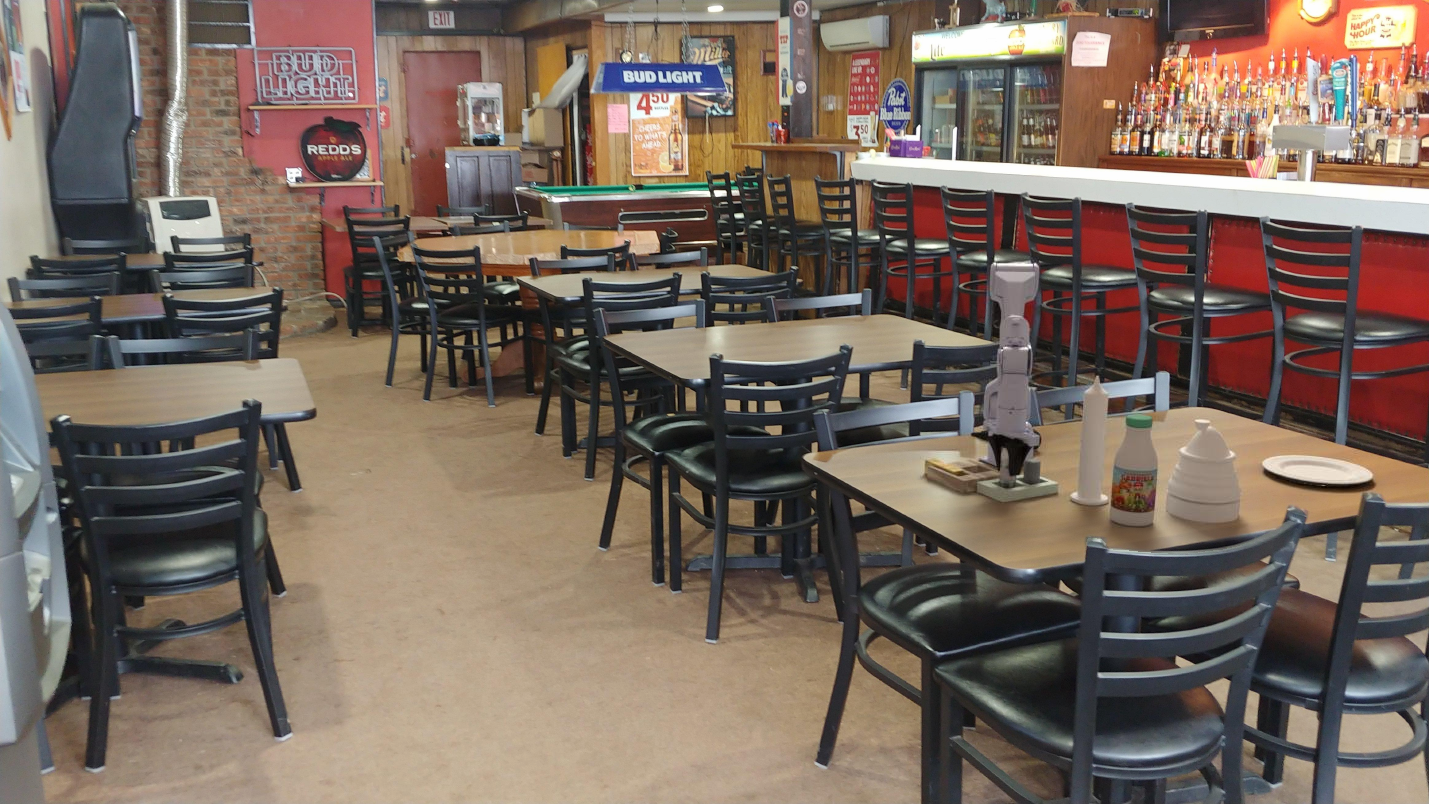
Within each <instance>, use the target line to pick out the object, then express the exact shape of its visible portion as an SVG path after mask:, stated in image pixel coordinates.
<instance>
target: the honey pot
mask: <svg viewBox="0 0 1429 804" xmlns="http://www.w3.org/2000/svg"><path fill="white" fill-rule="evenodd" d="M1194 424H1195V427H1196V429H1197V430H1198V431H1197V432H1195V434H1194V435H1193V436H1192V438H1191V439H1190V440H1189V441H1188V444H1187V446H1186V445H1185V446H1183V447H1180V448H1179V450H1178V454H1179V456H1180V459H1179V460H1178V462H1177V463H1176V465H1174V466H1175V467H1174V470H1173V472H1172V474H1171V477H1170V478H1169V480H1168V482H1167V491H1166V500H1165V509H1166V511H1167V512H1168V513H1169V514H1171V515H1172V516H1175V517H1177V518H1181V519H1184V520H1189V521H1193V522H1200V523H1212V524H1213V523H1214V524H1215V523H1217V524H1219V523H1230V522H1233V521H1235V520H1238V518H1239V517H1240V506H1241V496H1242V495H1241V493H1242V488H1241V486H1240V484H1239V478H1238V476H1237V474H1238V472H1237V470H1236V468H1235V464H1234V461H1235V460H1237V459H1236V458H1237V455H1236V453H1235V452H1233V451H1232V450H1230V449H1229V446H1228V444H1227V442H1226V440H1225V439H1224V437H1223V435H1222V434H1221V432H1220V431H1219V430H1218V429H1216V428H1215V427H1214V426H1211V425H1210V424H1211V421H1210V420H1206V419H1195V420H1194Z"/></svg>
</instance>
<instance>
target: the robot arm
mask: <svg viewBox="0 0 1429 804" xmlns="http://www.w3.org/2000/svg"><path fill="white" fill-rule="evenodd" d="M1039 279H1040V266H1039V265H1038V264H1037V262H1033V263H1008V262H1007V263H1006V262H1005V263H1003V262H992V264H991V265H990V274H989V296H990V299H991V300H992V301H995V302H997V303H998V305H999V308H1000V312H1001V317H1000V318H1001V319H1000V324H999V348H997V356H996V357H997V358H996V372H997V377H996V378H995V379H993V380H991V381H990V382H988V383H987V384H986V386H985V389H984V390H985V391H984V396H983V419H984V420H983V424H982V425H983V427H982V431H989V436H988V439H987V440H986V441H987V455H984V456H980V457H978V460H980V461H983V462H985V463H987V464H990V465H993V466H995V467H996V470H998V471H1000V460H1001V446H1004V445H1006V448H1007V452H1008V457H1009V474H1010V476H1017V475H1021V472H1022V470H1023V467H1024V461H1025V460H1026V459H1034V450H1033V446H1038V445H1039V440H1040V436H1039V435H1036V434H1034V431H1033V429H1034V427H1032V424H1031V423H1030V422H1029V421H1030V419H1031V410H1032V409H1031V408H1032V407H1031V406H1032V405H1031V404H1032V400H1031V399H1032V396H1031V395H1032V393H1031V388H1030V386H1029V380H1030V376H1031V374H1032V369H1033V350H1032V346H1031V342H1030V324H1029V322H1028V320H1027V319H1026V318H1024V313H1025V304H1026V303H1029V302H1031V301H1034V300H1035V297H1036V296H1037V293H1038V290H1039ZM1027 372H1028V373H1027Z"/></svg>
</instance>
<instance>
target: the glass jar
mask: <svg viewBox="0 0 1429 804" xmlns="http://www.w3.org/2000/svg"><path fill="white" fill-rule="evenodd" d="M999 486H1000V487H1002V488H1005V489H1010V488H1016V476H1010V474H1009V457H1008V452H1007V448H1006V445H1004V446H1001V460H1000V479H999Z"/></svg>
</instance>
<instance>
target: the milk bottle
mask: <svg viewBox="0 0 1429 804" xmlns="http://www.w3.org/2000/svg"><path fill="white" fill-rule="evenodd" d="M1125 417H1126V418H1125V429H1126V431H1125V434H1124V437H1123V439H1122V442H1121V443H1120V445H1119V446H1118V448H1117V450H1116V452H1115V457H1114V460H1113V468H1112V479H1111V480H1112V481H1111V492H1110V506H1109V507H1110V508H1109V518H1110V520H1111V521H1113V523H1116V524H1118V525H1121V526H1126V527H1136V528H1137V527H1139V528H1140V527H1147V526H1150V525H1152V524H1153V522H1154V517H1155V511H1156V509H1155V508H1156V507H1155V506H1156V496H1157V485H1158V484H1157V483H1158V467H1159V466H1158V465H1159V464H1158V463H1159V462H1158V461H1159V460H1158V455H1157V451H1156V449H1155V446H1154V444H1153V441H1152V436H1151V435H1152V434H1151V431H1152V430H1153V427H1152V426H1153V424H1154V423H1153V422H1154V421H1153V417H1151V416H1149V415H1146V414H1140V413H1139V414H1134V413H1133V414H1128V415H1127V416H1125Z"/></svg>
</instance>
